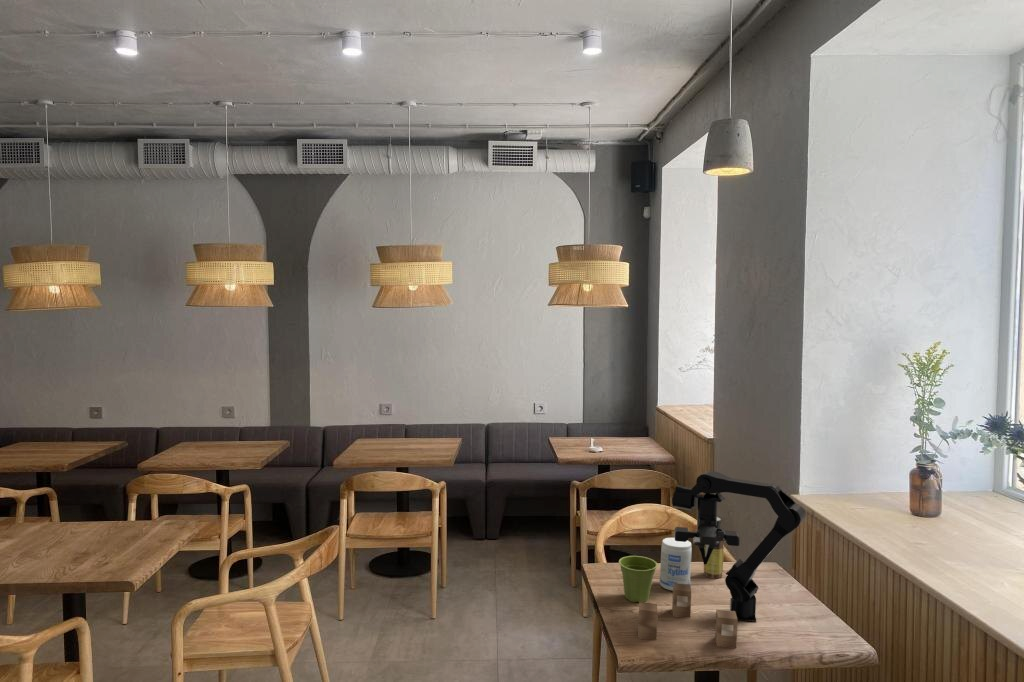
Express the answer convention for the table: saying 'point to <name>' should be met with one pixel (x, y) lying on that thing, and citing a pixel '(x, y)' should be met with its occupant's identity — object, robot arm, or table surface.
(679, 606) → the marked block
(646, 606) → the plain block
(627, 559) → the plant pot
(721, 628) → the marked block
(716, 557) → the sauce bottle
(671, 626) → the table surface
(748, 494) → the robot arm
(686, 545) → the supplement tub
